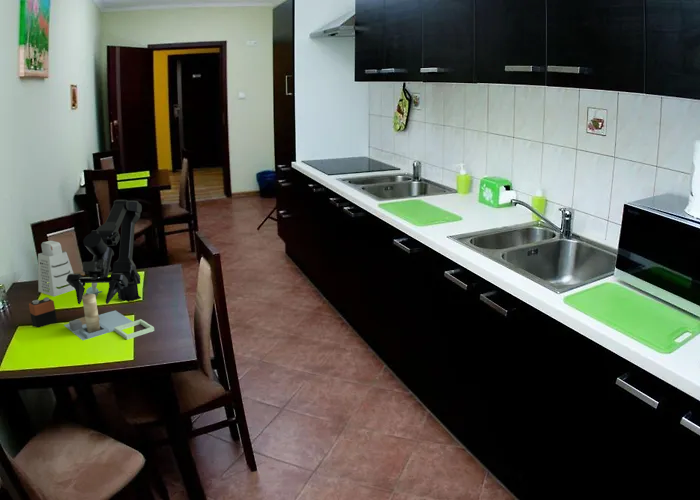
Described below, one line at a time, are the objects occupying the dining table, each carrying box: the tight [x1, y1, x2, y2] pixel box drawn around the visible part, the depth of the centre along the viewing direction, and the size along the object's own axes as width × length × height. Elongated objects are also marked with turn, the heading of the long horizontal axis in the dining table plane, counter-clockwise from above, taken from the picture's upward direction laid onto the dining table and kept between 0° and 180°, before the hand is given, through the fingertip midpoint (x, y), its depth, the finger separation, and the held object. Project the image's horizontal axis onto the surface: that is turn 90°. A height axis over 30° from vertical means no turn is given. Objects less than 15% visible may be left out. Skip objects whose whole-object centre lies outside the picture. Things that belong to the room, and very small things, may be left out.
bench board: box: [63, 309, 133, 341], centre depth 200 cm, size 18×17×4 cm
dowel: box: [82, 294, 100, 334], centre depth 192 cm, size 4×4×13 cm
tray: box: [114, 318, 155, 340], centre depth 195 cm, size 9×9×2 cm
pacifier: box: [83, 283, 103, 297], centre depth 229 cm, size 7×6×6 cm
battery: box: [28, 297, 58, 328], centre depth 201 cm, size 4×7×10 cm, turn 140°
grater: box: [37, 240, 76, 297], centre depth 233 cm, size 10×10×20 cm
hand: (92, 303), depth 193 cm, fingers open, 9 cm apart
